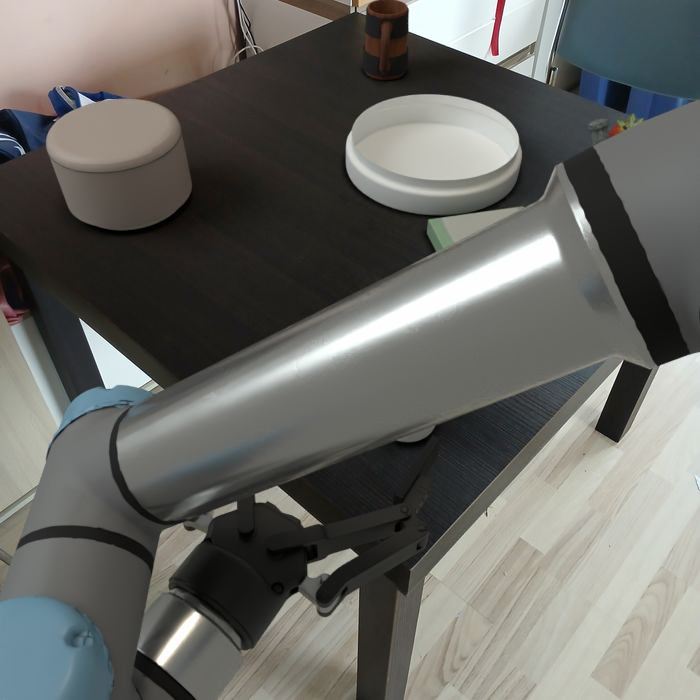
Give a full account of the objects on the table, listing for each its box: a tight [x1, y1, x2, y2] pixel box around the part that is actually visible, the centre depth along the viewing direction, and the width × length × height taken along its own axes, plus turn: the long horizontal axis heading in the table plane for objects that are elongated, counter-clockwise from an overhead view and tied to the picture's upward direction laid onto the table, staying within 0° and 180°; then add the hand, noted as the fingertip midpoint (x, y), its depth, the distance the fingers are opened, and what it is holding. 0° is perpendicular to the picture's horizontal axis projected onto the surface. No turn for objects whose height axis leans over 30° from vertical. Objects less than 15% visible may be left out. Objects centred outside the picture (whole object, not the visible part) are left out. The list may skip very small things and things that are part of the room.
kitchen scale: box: [426, 205, 524, 252], centre depth 88 cm, size 15×14×3 cm
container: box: [45, 98, 193, 231], centre depth 94 cm, size 18×18×12 cm
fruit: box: [609, 112, 644, 138], centre depth 102 cm, size 5×5×8 cm
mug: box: [362, 0, 410, 81], centre depth 122 cm, size 9×12×12 cm
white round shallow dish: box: [345, 93, 523, 216], centre depth 103 cm, size 27×27×6 cm
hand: (365, 411), depth 58 cm, fingers open, 13 cm apart
